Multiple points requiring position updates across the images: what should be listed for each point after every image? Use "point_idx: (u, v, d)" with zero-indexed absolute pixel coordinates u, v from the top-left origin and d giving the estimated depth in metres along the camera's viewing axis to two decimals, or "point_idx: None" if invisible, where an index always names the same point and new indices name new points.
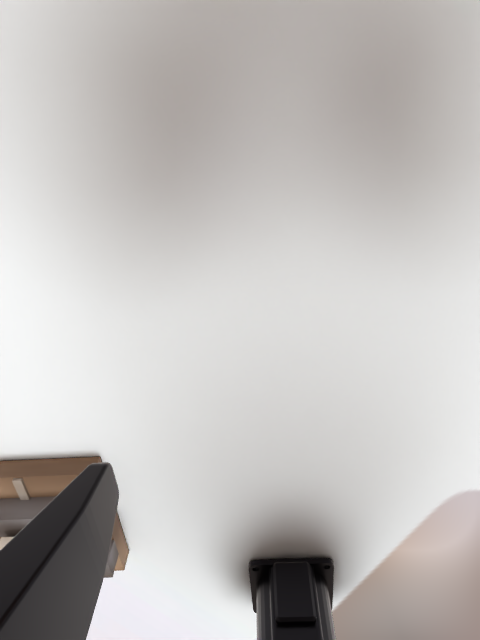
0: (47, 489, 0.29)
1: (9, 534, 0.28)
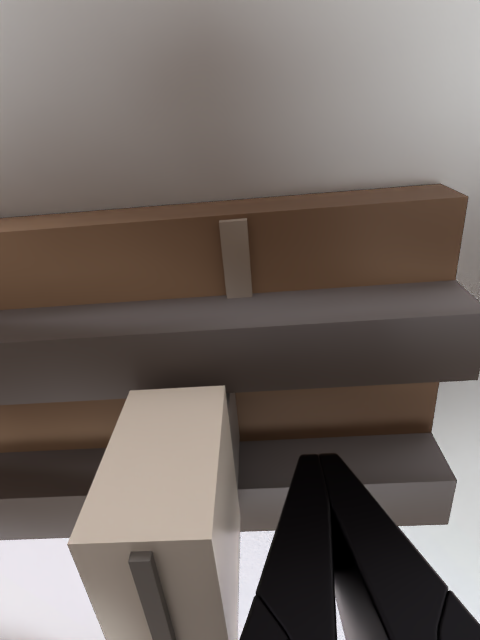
0: (309, 262, 0.10)
1: (207, 385, 0.09)
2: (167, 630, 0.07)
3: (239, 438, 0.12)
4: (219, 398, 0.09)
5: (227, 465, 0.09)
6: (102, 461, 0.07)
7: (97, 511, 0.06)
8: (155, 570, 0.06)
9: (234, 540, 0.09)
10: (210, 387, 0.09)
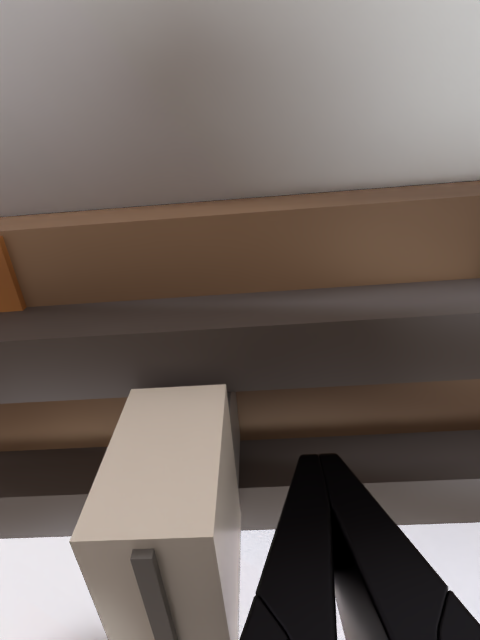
0: None
1: None
2: (169, 628, 0.07)
3: None
4: (220, 397, 0.09)
5: (228, 464, 0.09)
6: (104, 459, 0.07)
7: (99, 509, 0.06)
8: (157, 568, 0.06)
9: (235, 538, 0.09)
10: (211, 386, 0.09)
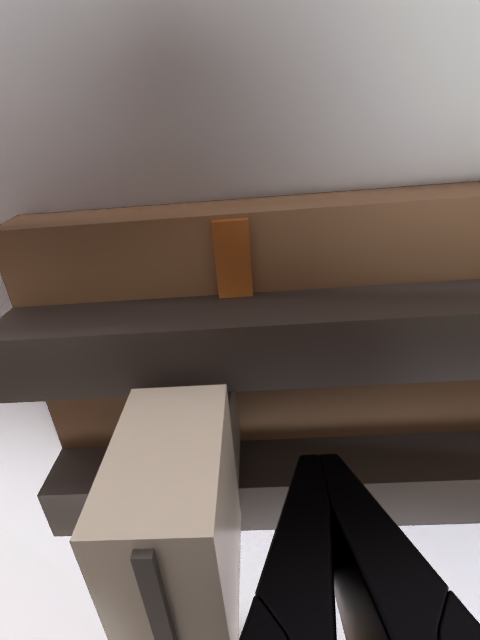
0: None
1: None
2: (168, 628, 0.07)
3: None
4: (221, 397, 0.09)
5: (228, 464, 0.09)
6: (104, 459, 0.07)
7: (99, 509, 0.06)
8: (157, 568, 0.06)
9: (235, 539, 0.09)
10: (212, 386, 0.09)
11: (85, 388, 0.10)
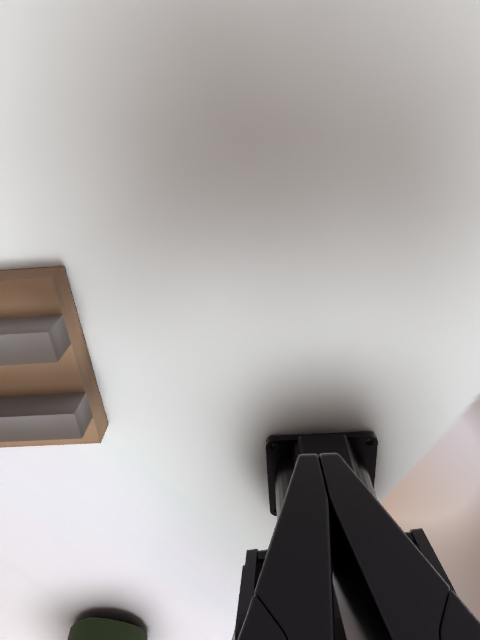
0: None
1: None
2: None
3: None
4: None
5: None
6: None
7: None
8: None
9: None
10: None
11: None
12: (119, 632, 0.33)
